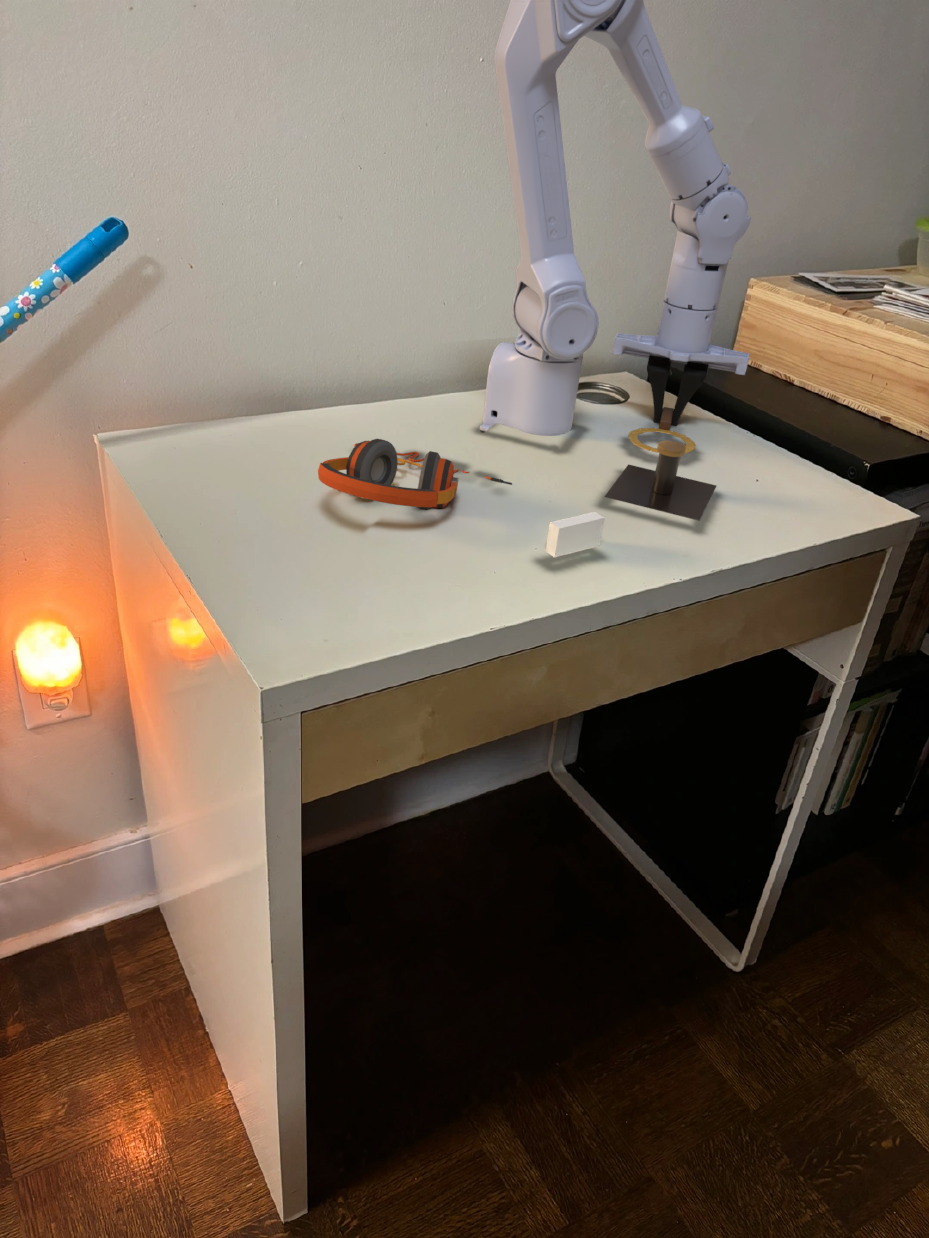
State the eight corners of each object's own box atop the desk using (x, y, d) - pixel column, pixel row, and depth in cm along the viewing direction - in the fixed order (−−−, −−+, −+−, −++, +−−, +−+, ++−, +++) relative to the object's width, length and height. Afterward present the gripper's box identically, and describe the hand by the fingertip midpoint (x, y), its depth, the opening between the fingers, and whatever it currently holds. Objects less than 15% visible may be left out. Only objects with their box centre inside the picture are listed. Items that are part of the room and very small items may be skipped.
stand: (602, 506, 87) (612, 450, 84) (626, 473, 94) (636, 420, 91) (697, 530, 84) (711, 473, 81) (714, 494, 91) (727, 441, 88)
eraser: (543, 561, 77) (549, 521, 75) (588, 549, 79) (595, 511, 77) (552, 567, 76) (559, 528, 74) (597, 556, 78) (605, 517, 76)
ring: (691, 467, 97) (695, 449, 96) (623, 455, 98) (627, 437, 97) (696, 429, 106) (700, 412, 105) (634, 418, 108) (637, 402, 107)
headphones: (364, 466, 95) (265, 497, 77) (371, 415, 94) (271, 434, 76) (517, 504, 91) (451, 546, 73) (528, 451, 90) (463, 481, 71)
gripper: (618, 302, 96) (597, 426, 103) (760, 323, 94) (728, 448, 101) (625, 287, 102) (605, 406, 109) (759, 307, 99) (729, 427, 107)
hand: (664, 425), depth 105 cm, fingers closed on ring, 1 cm apart
